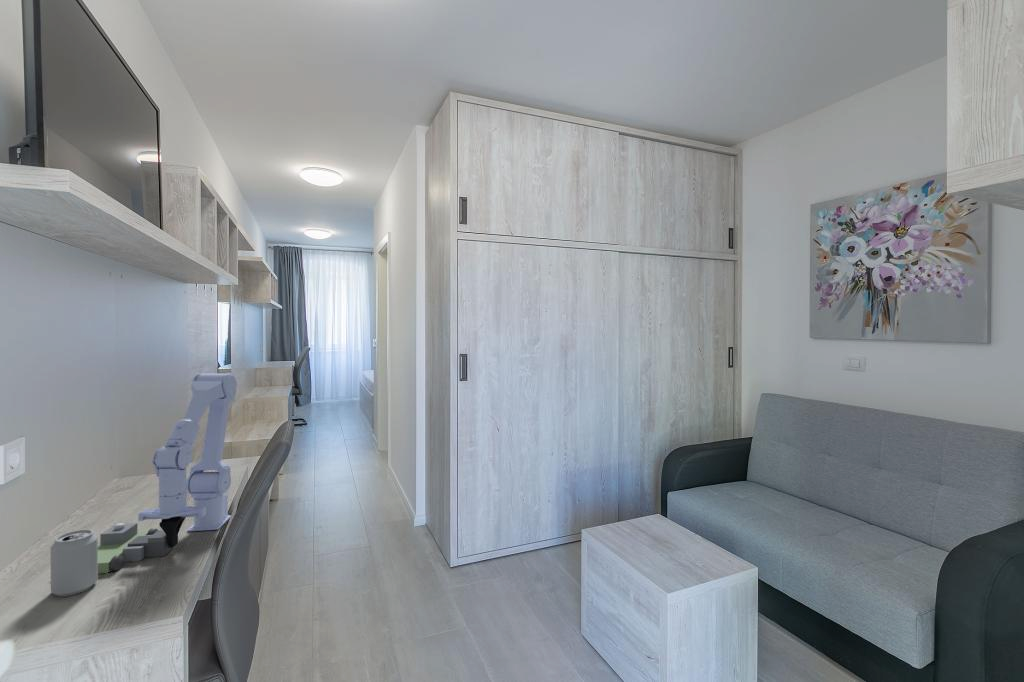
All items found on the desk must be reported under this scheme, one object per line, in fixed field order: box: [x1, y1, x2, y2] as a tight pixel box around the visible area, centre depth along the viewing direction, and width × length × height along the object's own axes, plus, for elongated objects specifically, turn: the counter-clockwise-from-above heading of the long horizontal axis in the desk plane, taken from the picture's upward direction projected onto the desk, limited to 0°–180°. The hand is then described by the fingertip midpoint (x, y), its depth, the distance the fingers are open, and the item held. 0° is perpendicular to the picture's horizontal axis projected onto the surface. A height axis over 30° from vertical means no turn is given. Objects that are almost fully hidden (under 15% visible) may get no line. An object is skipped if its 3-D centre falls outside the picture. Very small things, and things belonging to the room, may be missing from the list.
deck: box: [98, 522, 159, 574], centre depth 116 cm, size 18×14×6 cm
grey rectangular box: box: [128, 530, 174, 558], centre depth 118 cm, size 4×8×5 cm, turn 101°
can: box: [50, 528, 99, 597], centre depth 102 cm, size 8×8×12 cm
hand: (172, 545), depth 119 cm, fingers closed
